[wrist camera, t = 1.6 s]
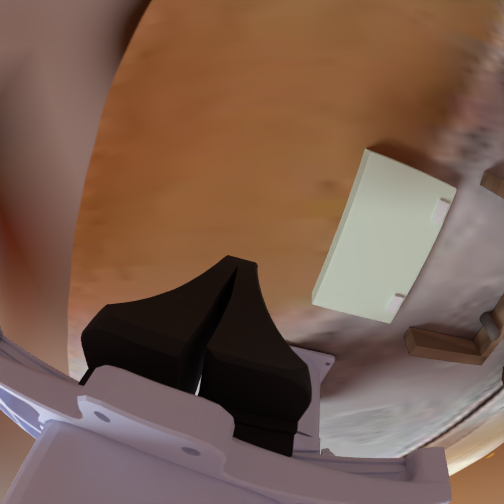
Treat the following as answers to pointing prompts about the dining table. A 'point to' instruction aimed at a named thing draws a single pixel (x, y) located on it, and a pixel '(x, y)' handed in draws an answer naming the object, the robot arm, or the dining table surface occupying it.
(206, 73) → the dining table surface
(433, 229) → the door
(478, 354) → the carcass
